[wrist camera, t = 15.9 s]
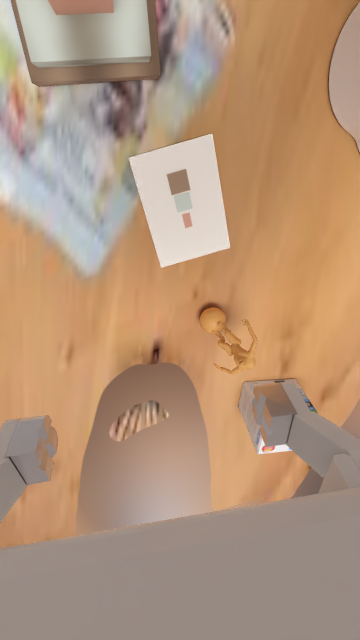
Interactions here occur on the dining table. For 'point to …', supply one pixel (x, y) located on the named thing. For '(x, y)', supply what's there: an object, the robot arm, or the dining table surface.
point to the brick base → (89, 43)
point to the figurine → (229, 339)
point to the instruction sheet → (182, 199)
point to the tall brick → (81, 6)
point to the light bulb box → (248, 417)
